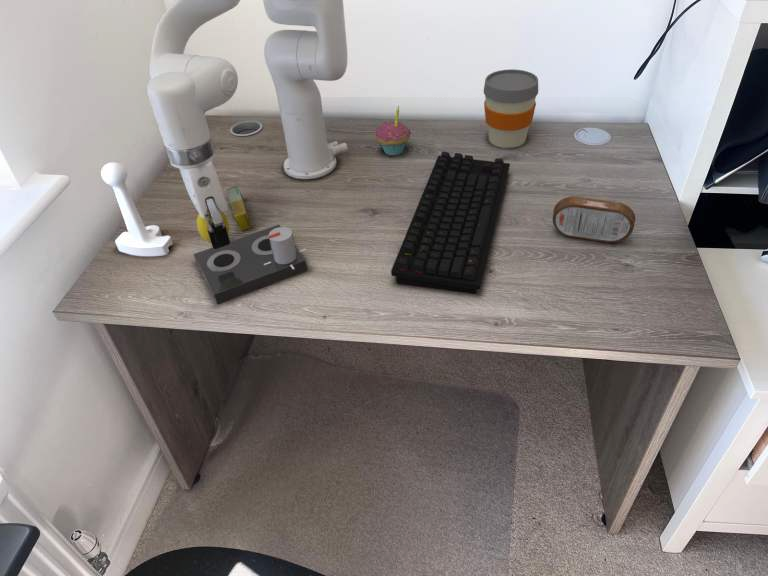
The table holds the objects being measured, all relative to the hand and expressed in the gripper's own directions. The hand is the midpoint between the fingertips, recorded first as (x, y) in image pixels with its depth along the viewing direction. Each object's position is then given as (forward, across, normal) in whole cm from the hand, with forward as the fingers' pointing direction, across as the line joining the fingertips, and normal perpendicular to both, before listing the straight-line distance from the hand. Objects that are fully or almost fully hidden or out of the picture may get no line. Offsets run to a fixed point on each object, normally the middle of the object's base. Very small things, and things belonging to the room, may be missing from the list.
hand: (216, 236), depth 114 cm
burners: (+6, 0, -4) cm, 7 cm away
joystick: (+9, +18, +12) cm, 23 cm away
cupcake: (+8, +22, -50) cm, 55 cm away
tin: (+9, -30, -64) cm, 71 cm away
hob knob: (+6, -6, -10) cm, 13 cm away
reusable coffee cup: (+8, +12, -76) cm, 77 cm away
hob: (+8, -2, -4) cm, 10 cm away
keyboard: (+9, -12, -46) cm, 48 cm away
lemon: (+2, 0, 0) cm, 2 cm away
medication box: (+9, +16, -8) cm, 20 cm away
